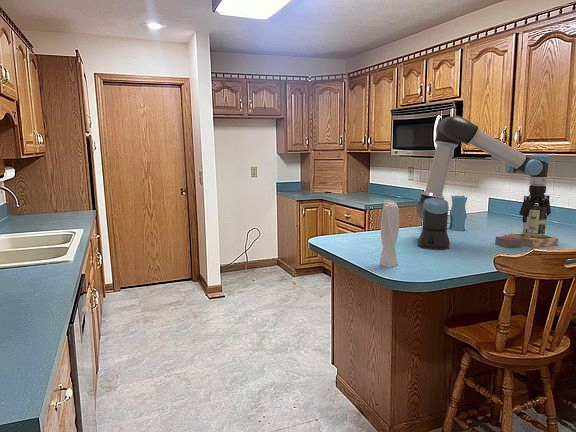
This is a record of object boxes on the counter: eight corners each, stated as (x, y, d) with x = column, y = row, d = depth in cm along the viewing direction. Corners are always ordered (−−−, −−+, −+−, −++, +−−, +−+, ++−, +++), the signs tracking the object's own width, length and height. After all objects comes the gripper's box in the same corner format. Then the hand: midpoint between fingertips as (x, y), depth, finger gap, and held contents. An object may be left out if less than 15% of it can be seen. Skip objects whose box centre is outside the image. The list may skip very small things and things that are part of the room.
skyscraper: (388, 268, 176) (391, 201, 171) (374, 264, 182) (377, 199, 177) (401, 265, 180) (404, 199, 176) (387, 261, 186) (390, 197, 182)
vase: (465, 231, 252) (467, 197, 249) (451, 230, 253) (453, 197, 250) (462, 228, 260) (464, 195, 256) (448, 228, 261) (450, 195, 257)
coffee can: (540, 231, 225) (543, 205, 223) (548, 235, 215) (550, 208, 213) (519, 231, 227) (521, 204, 225) (525, 235, 217) (528, 207, 215)
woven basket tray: (531, 247, 212) (532, 240, 212) (507, 240, 228) (508, 233, 227) (557, 245, 216) (558, 238, 216) (532, 238, 232) (533, 232, 231)
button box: (506, 247, 211) (507, 239, 210) (495, 244, 219) (495, 236, 218) (520, 246, 213) (520, 239, 212) (508, 243, 221) (509, 235, 220)
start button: (507, 244, 213) (507, 236, 212) (500, 242, 217) (501, 234, 217) (514, 243, 214) (515, 236, 214) (508, 241, 218) (508, 234, 218)
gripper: (525, 186, 211) (521, 230, 214) (562, 185, 216) (557, 228, 220) (513, 185, 218) (509, 227, 222) (549, 183, 223) (545, 225, 227)
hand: (533, 228), depth 221 cm, fingers closed on coffee can, 10 cm apart
